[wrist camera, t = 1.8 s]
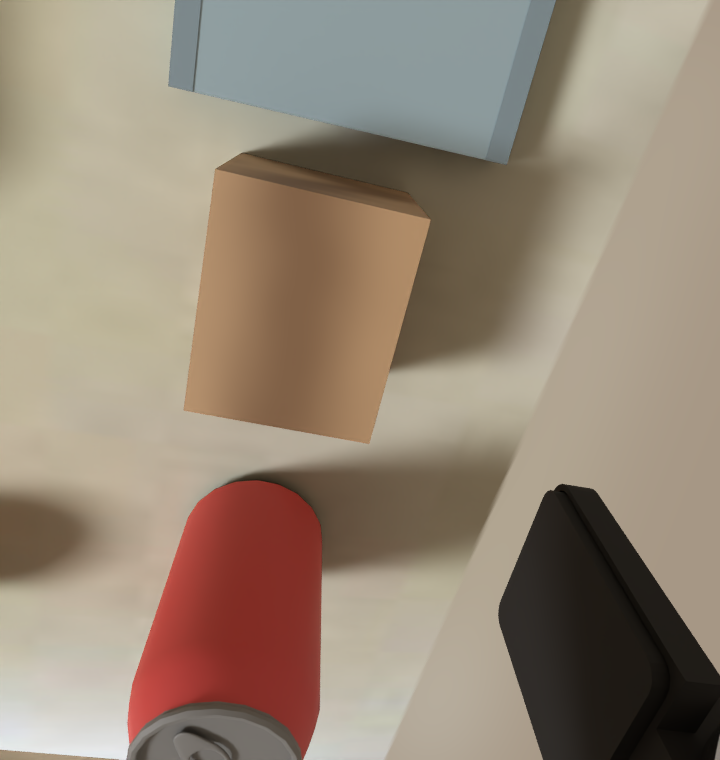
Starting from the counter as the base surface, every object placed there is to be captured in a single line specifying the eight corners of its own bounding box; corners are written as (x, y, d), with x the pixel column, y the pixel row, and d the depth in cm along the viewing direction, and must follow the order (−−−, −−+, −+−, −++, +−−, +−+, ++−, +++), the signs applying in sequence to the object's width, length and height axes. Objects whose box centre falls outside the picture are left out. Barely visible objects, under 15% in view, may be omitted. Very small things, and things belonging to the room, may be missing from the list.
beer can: (274, 450, 28) (241, 669, 18) (346, 545, 31) (356, 789, 20) (160, 512, 30) (61, 753, 19) (238, 599, 32) (192, 856, 21)
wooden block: (407, 192, 24) (431, 219, 18) (360, 374, 27) (369, 444, 22) (242, 152, 23) (215, 169, 18) (213, 345, 26) (183, 410, 21)
